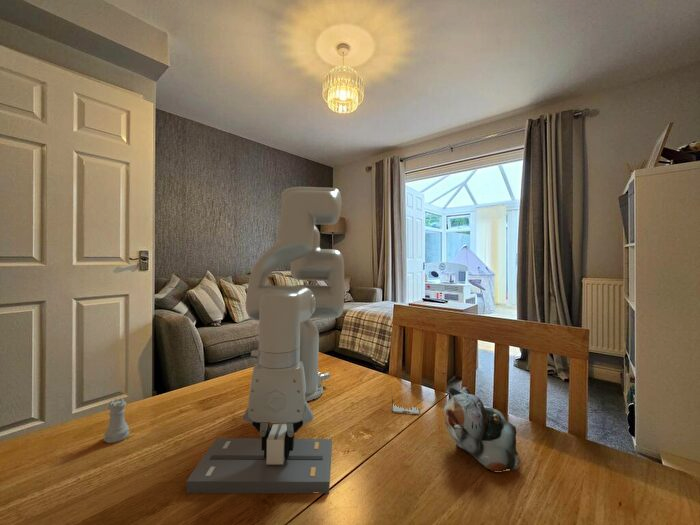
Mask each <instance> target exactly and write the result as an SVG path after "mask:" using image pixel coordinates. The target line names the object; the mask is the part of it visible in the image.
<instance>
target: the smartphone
mask: <svg viewBox="0 0 700 525" xmlns="http://www.w3.org/2000/svg"><path fill="white" fill-rule="evenodd" d="M392 411H393V412H399V413H407V412H408V413H412V414H420V415H421V409H420V410H418V407H417V410H416V407H415V408H414V407H412V410H411V409H410V408H409V410H408V409H405V410H404V408H403V407H402V408H401V407H400V408H399V406H398V407H397V406H396V405H395V406H394V404H393V406H392V405H391V412H392ZM393 412H392V413H393Z"/></svg>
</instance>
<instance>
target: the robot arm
mask: <svg viewBox="0 0 700 525" xmlns="http://www.w3.org/2000/svg"><path fill="white" fill-rule="evenodd" d="M280 199H281V209H280V210H281V211H280V215H279V216H280V217H279V222H278V223H279V225H278V231H277V237H276V242H275V243H274V244H272V246H271V247H269V248H268V249H267V250H266V251H265V252H264V253H263V254H262V255H261V256H260V257H259V258H258V259H257V260H256V263H255V264H253V267H252V269H251V271H250V275H249V279H248V284H247V290H246V296H245V297H246V298H245V311H246V314H247V315H248V316H247V317H248V318H250V319H252V320H253V321H257V322H258V348H257V349H252V350H251V352H250V358H254V359H256V360H257V363H255V364H254V365H253V369H252V373H251V380H250V387H249V394H248V395H249V396H248V405H247V408H246V410H245V412H244V414H243V415H242V420H243V421H244V422H247V423H248V424H251V425H252V426H253V427H254V428H255V429H256V430H257V431H258V433H259V436H260V437H261V439H262V451H264V458H267V438H268V436H269V433H270V431H271V428H272V427H271V424H280V423H282V424H286V425H287V432H286V435H285V444H284V457H285V458H288V457H289V453H290V451H293V448H294V439H295V433H297V432H298V431H299V429H301V428H302V427H303V426H304V425H307V424H308V423H311V422H312V421H313V420H314V413H313V411H312V409H311V406H310V405H309V403H308V402H309V401H314V400H316V399H317V398H319V397H321V396H322V395H323V393H324V386H323V385H322V382H324V381H325V380H326V381H327V380H328V379H330V378H331V374H330V373H329V372H324V373H321V371H319V348H320V347H319V346H320V345H319V344H320V333H319V330H318V328H317V326H316V325H315V323H314V322H313V321H312V319H337V318H340V317H341V316H342V314H343V312H344V306H345V305H344V304H345V260H344V256H343V254H342V253H341V251H339V250H337V249H333V248H332V249H331V248H327V249H326V248H321V247H320V246H321V245H320V244H321V242H320V241H321V233H320V231H319V229H318V227H317V226H316V225H328V226H331V225H333V226H334V225H336V224H337V223H338V222H339V220H340V216H341V212H342V211H341V210H342V206H343V205H342V204H343V200H342V195H341V192H340V190H339V189H338V188H336V187H320V186H319V187H318V186H316V187H315V186H293V187H288V188H285V189H284V190H283V191H282V193H281V198H280ZM289 263H290V264H289ZM287 264H289V265H290V266H289V267H290V276H292V278H293V279H295V280H299V281H307V282H308V281H315V282H316V281H317V282H327V283H328V285H315V284H296V285H290V286H289V285H270V284H269V285H266V281H267V279H268V278H269V276H271V274H272V273H273V272H274V271H276V270H277V269H279V268H280V267H282V266H284V265H285V266H286V265H287ZM321 394H322V395H321ZM313 399H314V400H313Z"/></svg>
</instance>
